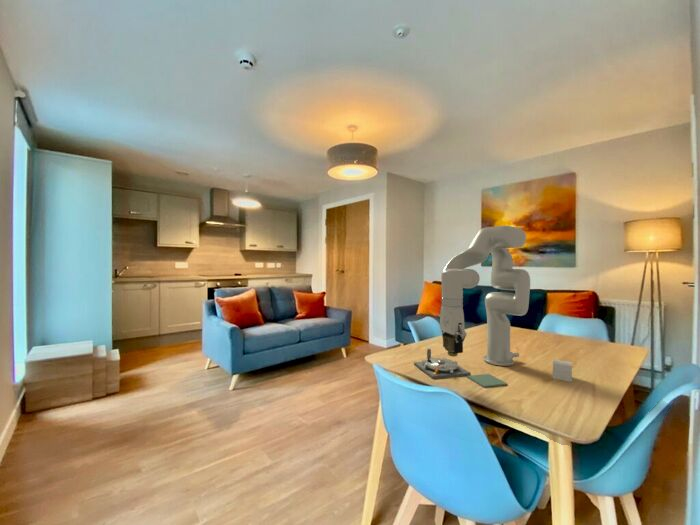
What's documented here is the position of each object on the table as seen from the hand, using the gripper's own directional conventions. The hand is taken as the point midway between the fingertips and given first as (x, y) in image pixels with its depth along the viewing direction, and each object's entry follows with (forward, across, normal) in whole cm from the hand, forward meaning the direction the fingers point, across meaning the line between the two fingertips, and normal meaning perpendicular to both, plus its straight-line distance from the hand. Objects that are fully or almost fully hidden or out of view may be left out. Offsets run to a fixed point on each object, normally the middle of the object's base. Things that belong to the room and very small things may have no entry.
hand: (452, 349), depth 114 cm
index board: (+12, -13, +2) cm, 18 cm away
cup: (+3, 0, 0) cm, 3 cm away
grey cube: (+13, +6, +44) cm, 47 cm away
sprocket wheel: (+11, -13, +2) cm, 17 cm away
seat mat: (+12, +2, +13) cm, 18 cm away
